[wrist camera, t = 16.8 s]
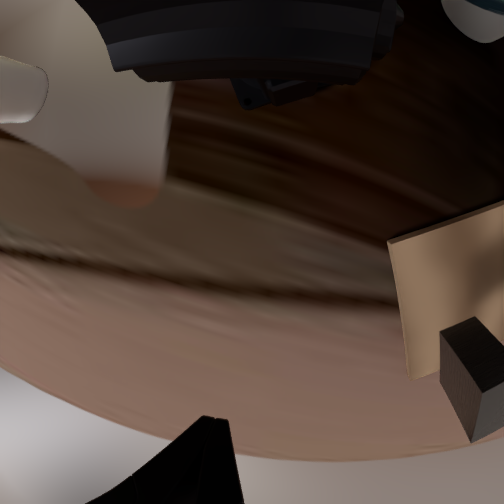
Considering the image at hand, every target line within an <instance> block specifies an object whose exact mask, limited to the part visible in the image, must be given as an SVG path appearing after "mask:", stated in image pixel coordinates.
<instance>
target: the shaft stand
mask: <svg viewBox="0 0 504 504" xmlns="http://www.w3.org/2000/svg"><path fill="white" fill-rule="evenodd" d="M387 244H388V248H389V253H390V258H391V263H392V268H393V273H394V278H395V284H396V289H397V295H398V301H399V308H400V314H401V321H402V329H403V337H404V345H405V355H406V366H407V375H408V377H409V379H410V381H413V380H415V379H418V378H421V377H423V376H426V375H429V374H431V373H434V372H436V371H439V370H440V338H439V331H441V330H443V329H446V328H448V327H451V326H453V325H455V324H458V323H460V322H462V321H465V320H467V319H469V318H471V317H474V316H475V317H476V318H477V319H478V320H479V321H480V322H481V323H482V324H483V325H484V326H485V327H486V328H487V329H488V330H489V331H490V332H491V333H492V334H493V335H494V336H495V337H496V338H497V339H498V340H499V342H501V341H502V340H504V200H503V201H500V202H498V203H495V204H492V205H489V206H487V207H484V208H481V209H478V210H475V211H473V212H470V213H467V214H464V215H461V216H458V217H455V218H453V219H450V220H447V221H444V222H441V223H438V224H435V225H432V226H429V227H426V228H423V229H420V230H417V231H414V232H411V233H408V234H405V235H402V236H399V237H396V238H393V239H390V240H387Z"/></svg>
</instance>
